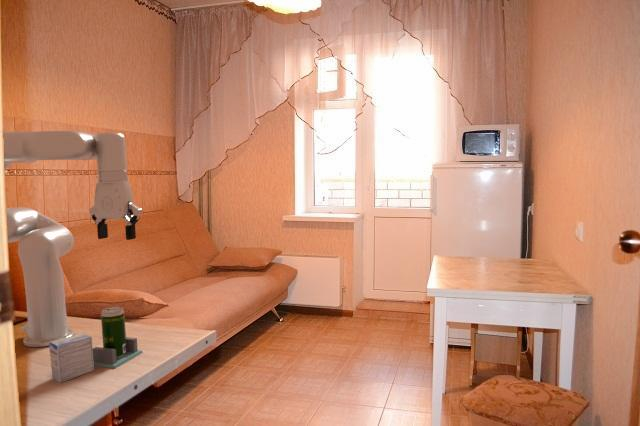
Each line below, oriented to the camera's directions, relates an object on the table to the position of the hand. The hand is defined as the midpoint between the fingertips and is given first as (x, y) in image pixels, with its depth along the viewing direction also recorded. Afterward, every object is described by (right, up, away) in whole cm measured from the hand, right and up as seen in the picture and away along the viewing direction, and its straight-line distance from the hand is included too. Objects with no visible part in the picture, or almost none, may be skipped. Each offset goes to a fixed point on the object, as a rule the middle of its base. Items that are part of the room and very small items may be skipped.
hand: (116, 238), depth 137 cm
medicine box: (0, -31, -23) cm, 38 cm away
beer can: (+6, -29, -14) cm, 33 cm away
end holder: (+6, -29, -14) cm, 33 cm away
